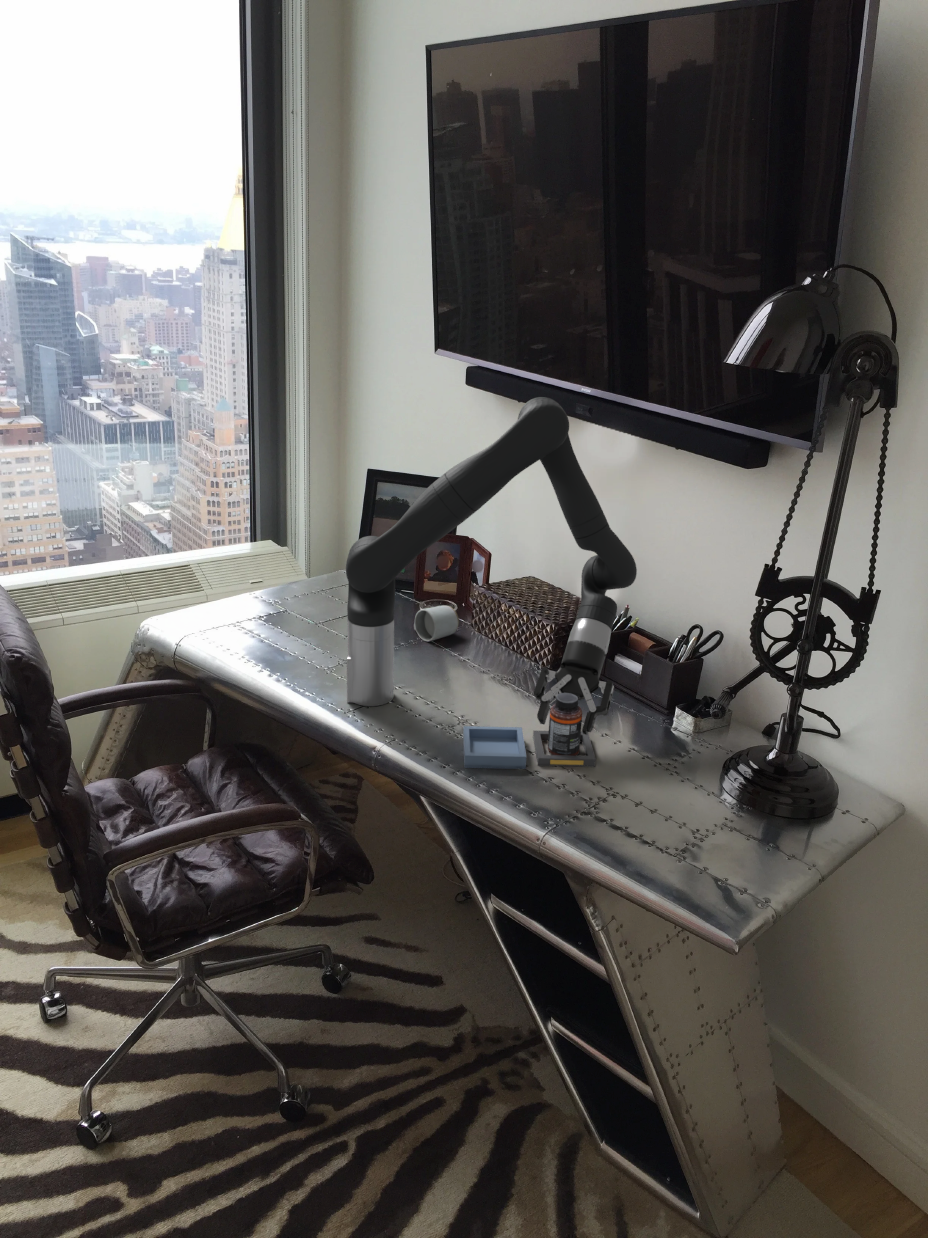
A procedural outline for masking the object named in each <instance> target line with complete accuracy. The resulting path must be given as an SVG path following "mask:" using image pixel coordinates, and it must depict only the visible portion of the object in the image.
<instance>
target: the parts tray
mask: <svg viewBox="0 0 928 1238" xmlns="http://www.w3.org/2000/svg"><path fill="white" fill-rule="evenodd" d="M462 730H463V732H462V734H463V735H462V739H463V741H462V742H463V743H462V744H463V766H464V768H467V769H505V770H506V769H511V770H513V769H515V770H526V768H527V753H526V752H527V751H526V744H525V739H524V733H523V732H524V731H523V727H517V726H480V725H479V726H476V725H473V726H470V725H469V726H468V725H466V726H465V725H463V729H462Z"/></svg>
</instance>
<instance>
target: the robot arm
mask: <svg viewBox="0 0 928 1238" xmlns="http://www.w3.org/2000/svg"><path fill="white" fill-rule="evenodd" d="M569 431H570V421H569V418H568V415H567V413H566V411H565V410H564V408H563V407H562V405H561V404H559V402H557V401H556V400H554V399H552V398H550V397H546V396H545V397H543V396H538V397H534V398H532V399H531V398H530V400H528V401H527V402H526V403H525V404H524V405H522V407H521V409H520V410H519V413H518V417H517V420H516V421H515V422H514V423H513V424H512V425H511V427H509V428H508V429H507V430H506V431H505V432H504V433H503V434H502V435H501V436H500V437H498V438H497V439H496V440H495V441H494V442H493V443H491V444H490V445H489V446H488V447H485V448H484V449H481V450H480V451H478V452H476V453H474V454H472V455H471V456H470V457H468V458H466V459H464V460H462V461H460V462H458V463H457V464H456V465H454V466H453V467H452V468H450V469H449V470H447V471H446V472H445V473H443V474H442V475H441V476H440V477H438V478H437V479H436V480H435V481H433V482H432V483H431V484H430V485H429V486H428V487H426V489H425V490H424V491H423V492H422V493H421V494H420V495H419V496H418V497H417V498H416V500H414V502H413V503H412V504H411V505H410V506H409V508H408V509H407V510H406V512H405V513H404V514H403V515H402V517H401V518H400V519H399V520H398V521H397V522H396V523H395V524H394V525H393V526H392V527H391V528H390V527H389V529H388V530H387V531H385V532H384V533H382V534H381V535H380V536H376V535H368V536H363V537H361V538H359V539H358V540H356V541H355V542H354V543H353V544H352V545H351V547H350V549H349V551H348V555H347V558H346V564H345V575H346V579H347V581H348V591H347V593H348V594H347V596H348V597H347V605H346V606H347V607H346V608H347V609H346V610H347V611H346V612H347V614H346V615H347V616H346V617H347V658H346V702H347V703H354V704H356V705H358V706H359V705H360V706H363V707H378V706H382V705H386V704H389V702H391V701H392V700H393V699H394V696H395V695H394V692H395V691H394V690H395V689H394V688H395V686H394V685H395V684H394V683H395V682H394V680H395V679H394V678H395V677H394V674H395V668H394V667H395V609H396V608H395V606H396V577H397V576H398V575H399V574H400V573H401V572H402V571H403V570H404V569H405V568H406V567H407V566H408V565H410V563H412V561H414V560H415V559H416V558H417V557H418V556H419V555H420V554H421V553H422V552H424V551H425V550H427V549H428V548H429V547H431V546H432V545H434V544H436V543H437V542H438V541H440V540H441V539H443V538H444V537H445V536H446V535H448V534H449V533H450V532H451V531H453V530H455V529H456V528H457V527H459V526H460V525H461V524H463V523H464V522H465V521H466V520H467V519H469V518H470V517H471V516H473V515H474V514H475V513H476V512H477V511H479V510H480V509H481V508H482V507H483V506H484V505H485V504H487V503H488V501H490V500H491V499H493V497H495V496H496V495H497V494H498V493H499V492H500V491H501V490H502V489H504V487H506V486H507V484H509V483H510V481H512V480H513V479H514V478H515V477H516V476H518V475H519V474H521V473H522V472H523V471H525V470H526V469H528V468H529V467H531V466H532V465H533V464H535V463H536V462H538V461H539V462H541V464H542V466H543V469H544V470H545V472H546V474H547V476H548V478H549V480H550V483H551V485H552V488H553V491H554V493H555V496H556V498H557V501H558V504H559V507H560V509H561V511H562V514H563V517H564V519H565V522H566V523H567V525H568V527H569V530H570V533H571V534H572V536H573V539H574V541H575V543H576V544H577V546H578V547H579V549H581V550H583V551H589V552H594V553H595V554H596V555H592V556H591V557H590V558H588V559H587V560H586V562H585V563H584V565H583V568H582V572H581V581H580V582H581V591H580V596H581V597H580V598H581V599H580V600H581V601H580V605H579V609H578V611H577V616H576V618H575V621H574V624H573V626H572V629H571V631H570V633H569V637H568V640H567V644H566V647H565V650H564V652H563V656H562V660H561V663H560V666H559V668H558V670H557V671H554V670H550V669H548V667H547V666H543V667H542V668H541V670H540V673H539V676H538V678H537V682H536V684H535V687H534V690H533V695H534V697H535V699H536V701H539V702H540V703H539V708H538V712H537V714H536V717H537V720H538V722H539V724H540V725H545V724H546V721H547V718H548V715H549V713H550V709H551V705H552V703H553V702H556V697H557V695H558V694H561V693H571V694H574V695H576V696H577V697H578V701H582V700H585V701H586V704H587V707H588V709H589V710H588V711H587V713H586V716H585V718H584V722H583V726H582V728H581V732H583V734H586V735H588V734H589V733H592V731H593V730H594V726H595V722H596V719H597V717H598V716H607V715H608V714H609V711H610V707H611V703H612V699H613V695H614V691H615V686H614V683H613V681H611V680H607V681H601V680H600V677H601V673H602V669H603V666H604V664H605V663H604V662H605V659H606V656H607V653H608V651H609V644H610V642H611V641H610V640H611V633H612V629H613V626H614V624H615V619H616V616H617V613H618V612H617V611H618V605H617V602H616V601H615V600H614V599H613V598H612V597H609V596H608V595H606V593H607V591H608V590H609V591H610V590H617V589H619V590H620V589H627V588H629V587H630V586H632V585H633V584H634V582H635V580H636V579H637V574H638V573H637V571H638V569H637V564H636V561H635V558H634V556H633V555H632V553H631V551H630V550H629V549H628V548H627V546H626V545H625V544H624V542H622V540H621V539H620V538H619V537H618V535H617V534H616V533H615V532H614V531H613V529H611V527H610V525H609V522H608V520H607V517H606V515H605V513H604V510H603V508H602V507H601V505H600V502H599V500H598V498H597V495H596V494H595V492H594V490H593V488H592V487H591V484H590V483H589V481H588V479H587V477H586V475H585V474H584V471H583V470H582V467H581V465H580V463H579V461H578V459H577V456H576V454H575V452H574V449H573V446H572V443H571V438H570V434H569ZM553 679H555V680H556V683H555V684H554V685H553V686H552V687H550V689H549V690H548V691H546V689H547V686H548V683H551V681H552V680H553ZM599 688H600V690H601V691H600V692H601V693H602V698H601V701H600V705H597V706H596V705H595V704H596V703H595V702H594V700H593V697H592V695H593V693H594V692H595V691H597V690H598V689H599ZM545 691H546V693H545ZM544 693H545V694H544Z"/></svg>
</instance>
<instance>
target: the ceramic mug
mask: <svg viewBox="0 0 928 1238" xmlns="http://www.w3.org/2000/svg"><path fill="white" fill-rule="evenodd" d="M459 622H460V621H459V615H458V613H457V612H456V610H455V609H454V608H453V607H452V606H451V605H437V606H432V607H426V608H421V609H419V610H418V611H417V612H416V614H415V617H414V624H413V629H414V631H416V634H417V635H418V637H419V638H420V639H421V640H422V641H423V642H433V641H436V640H439V639H442V638H445V637H449V636H451V635H453V634H455V632H456V631H457V630H458V628H459Z"/></svg>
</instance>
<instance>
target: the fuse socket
mask: <svg viewBox="0 0 928 1238" xmlns="http://www.w3.org/2000/svg"><path fill="white" fill-rule="evenodd" d="M548 734H549V730H533V731H532V740H533V747H534V751H535V757H536V764H537V766H542V767H543V766H544V767H545V766H548V767H549V766H552V767H554V766H555V767H591V768H592V767H595V768H596V759H597V758H596V756H595V752H594V749H593V745H592V742H591V738H590V734H589V733H588V735H586V734H583V732H582V731H581V736H580V743H581V744H582V748H583V751H584V755H576V756H569V755H552V754H545V752H544V751H545V750H544V747H543V742H548Z"/></svg>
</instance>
